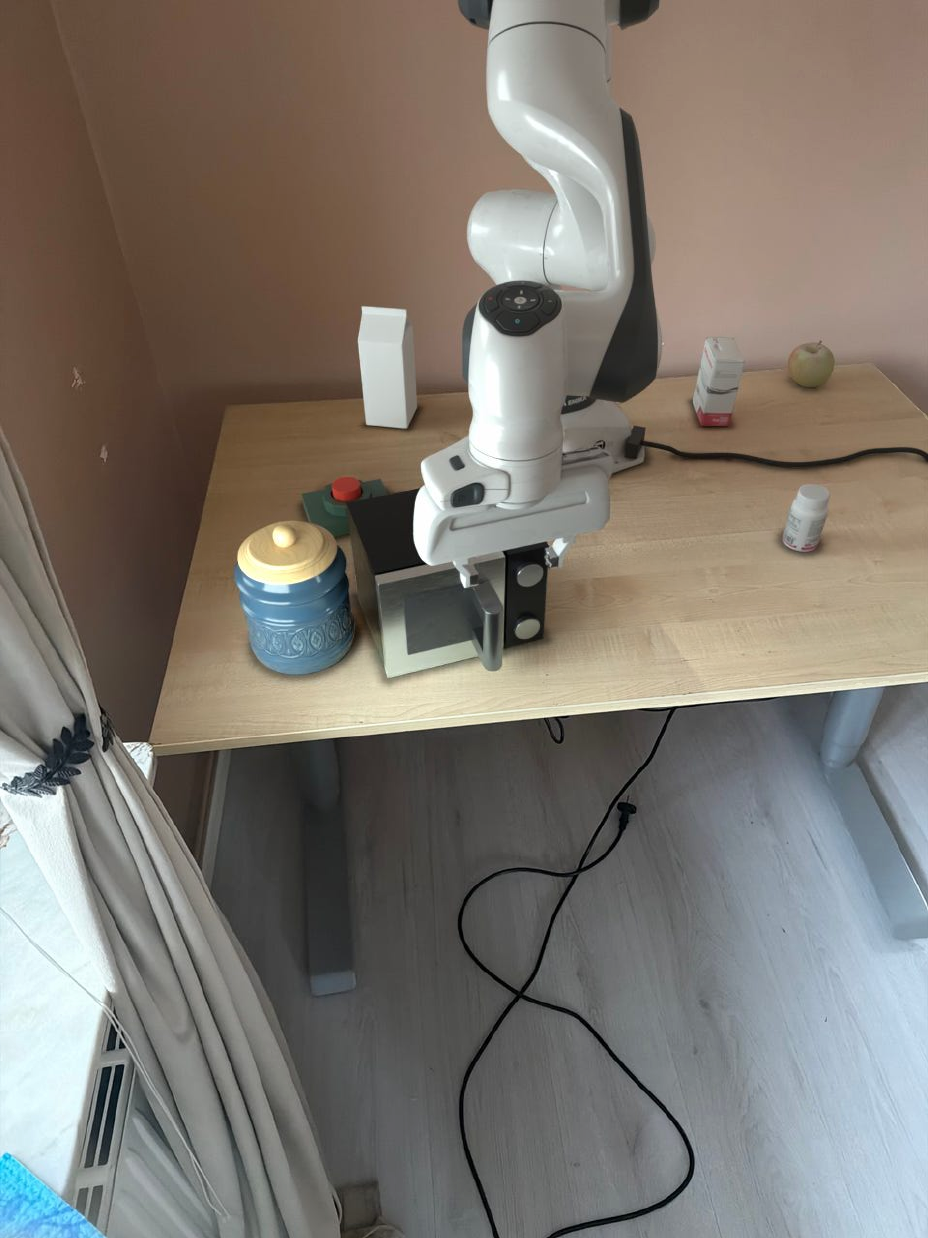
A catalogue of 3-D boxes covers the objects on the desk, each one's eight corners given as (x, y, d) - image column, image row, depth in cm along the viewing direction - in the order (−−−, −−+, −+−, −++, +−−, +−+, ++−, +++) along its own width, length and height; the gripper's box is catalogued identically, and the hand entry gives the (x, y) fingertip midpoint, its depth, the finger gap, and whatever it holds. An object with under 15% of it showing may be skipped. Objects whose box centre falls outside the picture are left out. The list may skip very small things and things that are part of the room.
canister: (362, 668, 108) (347, 553, 96) (253, 685, 106) (224, 571, 94) (349, 598, 117) (334, 486, 105) (249, 613, 115) (222, 500, 103)
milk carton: (407, 429, 148) (400, 319, 135) (365, 425, 149) (355, 315, 136) (417, 408, 153) (411, 299, 140) (377, 404, 154) (368, 296, 142)
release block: (381, 490, 135) (379, 468, 133) (397, 524, 129) (395, 501, 126) (303, 505, 133) (299, 483, 130) (315, 541, 127) (311, 518, 124)
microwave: (545, 644, 111) (552, 548, 100) (389, 682, 106) (379, 586, 96) (500, 564, 122) (502, 471, 112) (357, 596, 118) (345, 502, 108)
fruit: (826, 375, 160) (838, 332, 155) (829, 394, 155) (841, 351, 149) (782, 370, 161) (793, 328, 156) (783, 390, 156) (794, 347, 151)
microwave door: (519, 682, 106) (523, 587, 96) (400, 712, 103) (391, 617, 93) (498, 641, 111) (500, 548, 101) (384, 669, 108) (374, 575, 98)
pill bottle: (818, 535, 126) (834, 485, 120) (816, 555, 123) (832, 505, 117) (783, 529, 127) (797, 479, 121) (780, 549, 124) (795, 498, 118)
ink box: (731, 427, 147) (746, 360, 139) (700, 427, 148) (713, 360, 139) (721, 400, 154) (734, 335, 146) (691, 401, 154) (703, 335, 146)
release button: (357, 484, 130) (356, 474, 129) (363, 499, 128) (362, 489, 126) (330, 489, 130) (329, 479, 128) (336, 504, 127) (335, 494, 125)
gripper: (601, 427, 90) (589, 537, 99) (404, 463, 85) (412, 575, 95) (628, 459, 86) (614, 571, 95) (423, 500, 81) (428, 613, 90)
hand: (511, 574), depth 95 cm, fingers open, 8 cm apart
